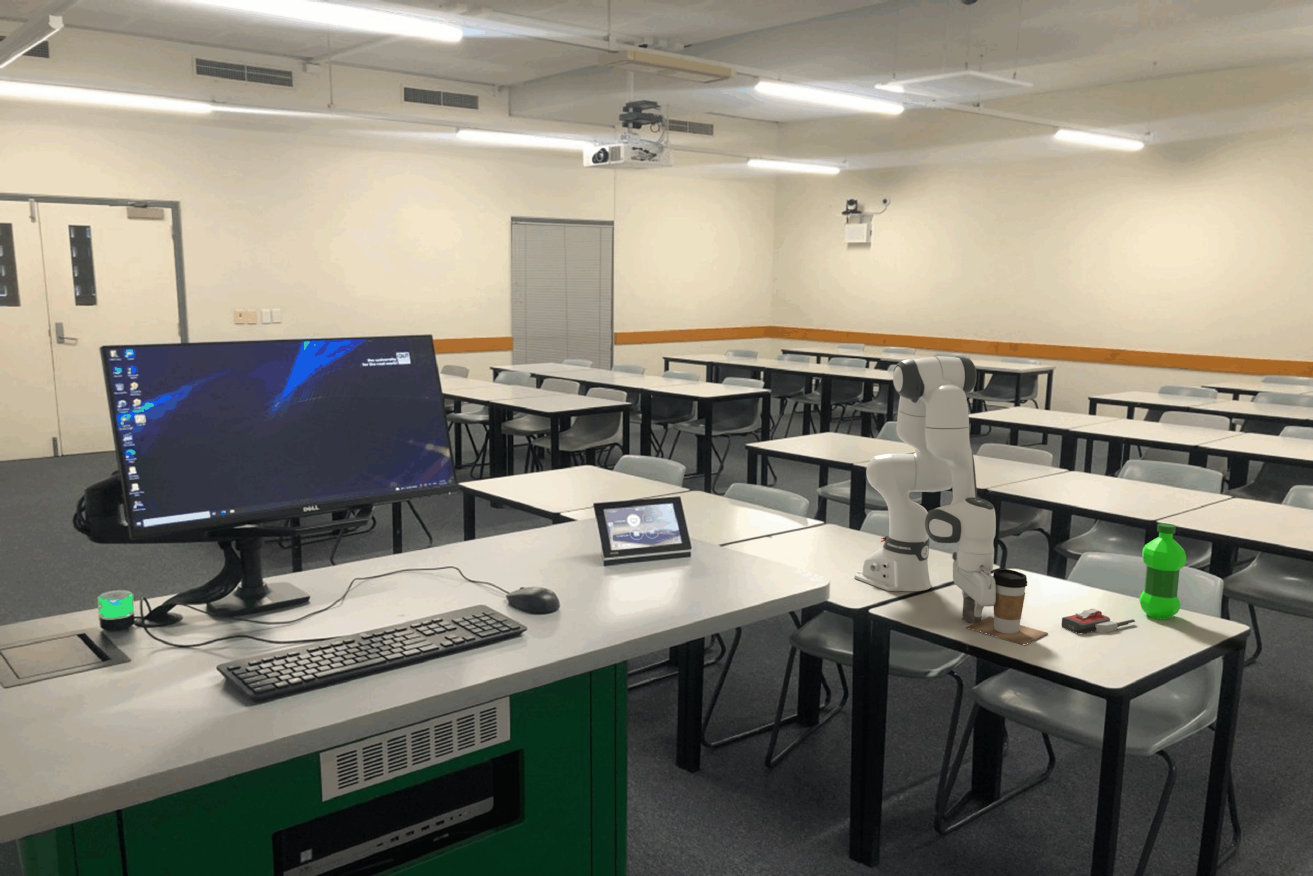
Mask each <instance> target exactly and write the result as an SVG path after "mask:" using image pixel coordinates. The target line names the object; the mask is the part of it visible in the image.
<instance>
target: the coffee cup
mask: <svg viewBox="0 0 1313 876" xmlns="http://www.w3.org/2000/svg"><path fill="white" fill-rule="evenodd" d="M992 576H993V577H994V579H995V584H996V602H995V604H994V606H993V618H994V629H995V630H996V631H998V632H1002V633H1007V634H1014V633H1018V631H1019V626H1020V625H1021V619H1022V615H1023V610H1024V609H1023V608H1024V603H1025V598H1026V587H1027V586H1028V579H1027V578H1028V577H1027V575H1026V574H1024V573H1022V572H1021V571H1017V570H1013V569H1008V568H997V569H994V570H993V575H992Z"/></svg>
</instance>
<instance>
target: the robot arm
mask: <svg viewBox="0 0 1313 876" xmlns="http://www.w3.org/2000/svg"><path fill="white" fill-rule="evenodd" d="M977 375H978V374H977V369H976V365H975V364H974V362H973V361H972V360H971V358H969V357H964V356H957V355H956V356H955V357H954V356H946V355H945V356H944V355H941V356H940V355H939V356H938V355H937V356H935V355H934V356H931V357H928V356H927V357H921V358H908V359H907V358H906V359H904V360H900V361H898V363H897V364H896V365H895V367H894V370H893V375H892V376H893V377H892V382H893V387H894V390H895V392H896V393H897V394H899V400H898V410H897V418H896V419H897V420H896V435H897V437H898V438H899V440H901V441H902V442H903V443H905V444H907V445H908V446H911V447H913V448H914V449H915V451H914V452H913V453H890V452H889V453H883V454H878V455H874V456H873V457H872V458H871V459H870V460H869V461H868V463H867V466H866V468H865V469H866V471H865V475H866V479H867V481H868V484H870V486H871V487H872V488H873V489H874V490H875V491H877V492H878V493H879V494H880V495H881V497H882V498H883V499H884V502H885V503H886V507H887V510H888V518H889V523H888V526H889V529H888V534H887V535H885V536H884V537H881V538H880V543H883V542H884V543H883V546H882V547H880V548H879V549H877V550H876V551H874V552H872V553H871V554H869V555H868V556H867V557H866V558H865V559H864V561H863V566H862V569H861V570H858V571H857V572H855V574H854V579H856V580H859V581H861V582H863V583H867V584H869V585H872V586H874V587H877V588H880V589H883V590H885V591H889V592H899V591H900V592H901V591H902V592H921V591H926V590H929V589H930V588H932V583H931V578H930V573H929V563H928V561H929V553H930V539H931V540H932V541H934V542H935V543H939V544H957V545H958V550H953V551H952V552H951V559H952V560H953V562H952V579H953V583H954V584H953V585H955V586H956V587H958V588H959V589H960V590H961V594H962V598H963V599H964V598H966V597H968V596H970V597H971V598H972V599H973V600H975V608H974V609H973V615H974V616H975V617H981V616H982V615H983V613H982V612H983V609H984V608H985V607H994V604H995V602H996V584H995V579H994V577H993V575H992V573H991V571H992V570H994V559H995V547H994V539H995V537H996V527H997V526H996V524H997V523H996V522H997V521H996V520H997V519H996V510H995V507H994V505H993V504H992V503H991V502H990V501H988V500H986V499H984V498H980V497H978V487H977V476H976V466H975V458H974V457H975V456H974V454H973V450H972V447H971V440H970V417H969V416H970V415H969V406H968V400H967V394H969V393H971V392H972V391H973V390H974V388H975V387H976V383H977ZM951 489H952V499H951V500H952V501H951V502H950V504H945V505H942V506H939V507H935V508H934V509H932V510H930V511H929V512H928V511H927V509H926V508H925V507H924V506H922V505H921V504H919V503H917V502H915V501H913V500H911V499H910V493H913V492H917V493H919V492H921V493H922V492H923V493H925V492H926V493H936V492H943V491H947V490H951Z"/></svg>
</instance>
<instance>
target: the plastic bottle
mask: <svg viewBox="0 0 1313 876" xmlns="http://www.w3.org/2000/svg"><path fill="white" fill-rule="evenodd" d="M1176 529H1177V527H1176V525H1175V524H1172V523H1165V522H1164V523H1157V530H1156V531H1157V532H1158V537H1156V538H1154V539H1153V540H1151V541H1149V542H1148V543H1146V544H1145V545H1144V546H1143V548H1142V551H1141V553H1142V554H1141V555H1142V556H1141V557H1142V560H1143V563H1144V564H1145V565H1146V569H1145V578H1144V588H1143V591H1142V592H1141V593H1140V595H1139V598H1138V599H1139V600H1138V601H1139V604H1140V607H1141V610H1142V611H1143V612H1144V613H1145V614H1146V615H1147V616H1148V617H1149V616H1150V618H1152V619H1157V620H1168V619H1170V618H1172V617H1173V616H1176V615H1177V614H1178V612H1179V611H1180V609H1181V602H1180V600H1179V597H1178V589H1179V579H1180V570H1181V569H1183V568H1184V567H1185V565H1186V562H1187V555H1186V551H1185V549H1184V548H1183V547H1182V546H1181V545H1180V544H1179V543H1178V542H1177V541H1176V540H1175V539H1174V538H1173V537H1174V536H1173V535H1174V534H1176Z"/></svg>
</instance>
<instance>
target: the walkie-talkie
mask: <svg viewBox="0 0 1313 876" xmlns="http://www.w3.org/2000/svg"><path fill="white" fill-rule="evenodd" d="M1131 623H1136V620H1135V619H1134V618H1131V619H1127V620H1124V621H1119V622H1115V621H1112V620H1111V618H1110V617H1109V616H1106V615H1105V614H1104V615H1103V613H1102V611H1100V610H1097V609H1096V608H1090V609H1085V610H1083V611H1082V612H1081V613H1078V612H1077V613H1075V614H1073V615H1072V614H1071V615H1069V616H1063V617H1061V626H1062V627H1061V628H1062V629H1065V630H1067V629H1068V630H1067V631H1070V630H1071V631H1070V632H1073V631H1074V632H1073V633H1075V632H1077V633H1076V634H1078V633H1084V634H1088V633H1087V632H1090V633H1093V632H1095V631H1096V632H1095V633H1103V632H1106V633H1111V632H1116V631H1117V630H1118V628H1119V627H1123V626H1127V625H1129V624H1131ZM1091 631H1092V632H1091Z"/></svg>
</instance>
